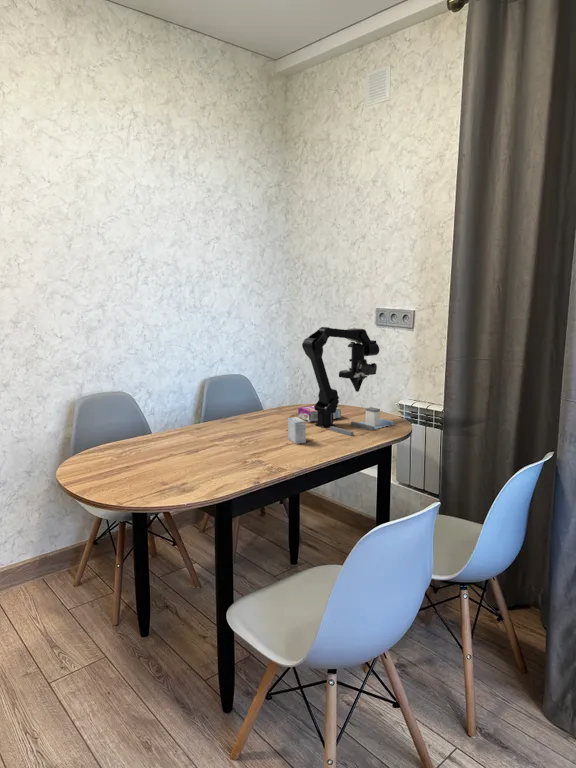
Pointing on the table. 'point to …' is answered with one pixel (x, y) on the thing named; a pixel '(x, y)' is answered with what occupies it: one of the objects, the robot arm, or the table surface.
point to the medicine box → (296, 430)
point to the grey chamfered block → (372, 416)
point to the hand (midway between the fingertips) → (357, 391)
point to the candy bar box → (314, 413)
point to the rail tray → (362, 426)
